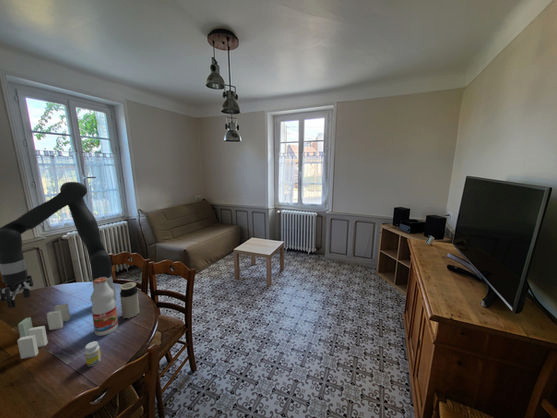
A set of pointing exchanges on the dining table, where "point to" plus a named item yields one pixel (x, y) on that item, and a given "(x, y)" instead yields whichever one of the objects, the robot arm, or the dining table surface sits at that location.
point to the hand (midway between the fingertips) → (20, 302)
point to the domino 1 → (25, 327)
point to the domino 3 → (39, 335)
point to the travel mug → (129, 300)
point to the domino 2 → (27, 346)
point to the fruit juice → (103, 308)
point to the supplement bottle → (92, 353)
